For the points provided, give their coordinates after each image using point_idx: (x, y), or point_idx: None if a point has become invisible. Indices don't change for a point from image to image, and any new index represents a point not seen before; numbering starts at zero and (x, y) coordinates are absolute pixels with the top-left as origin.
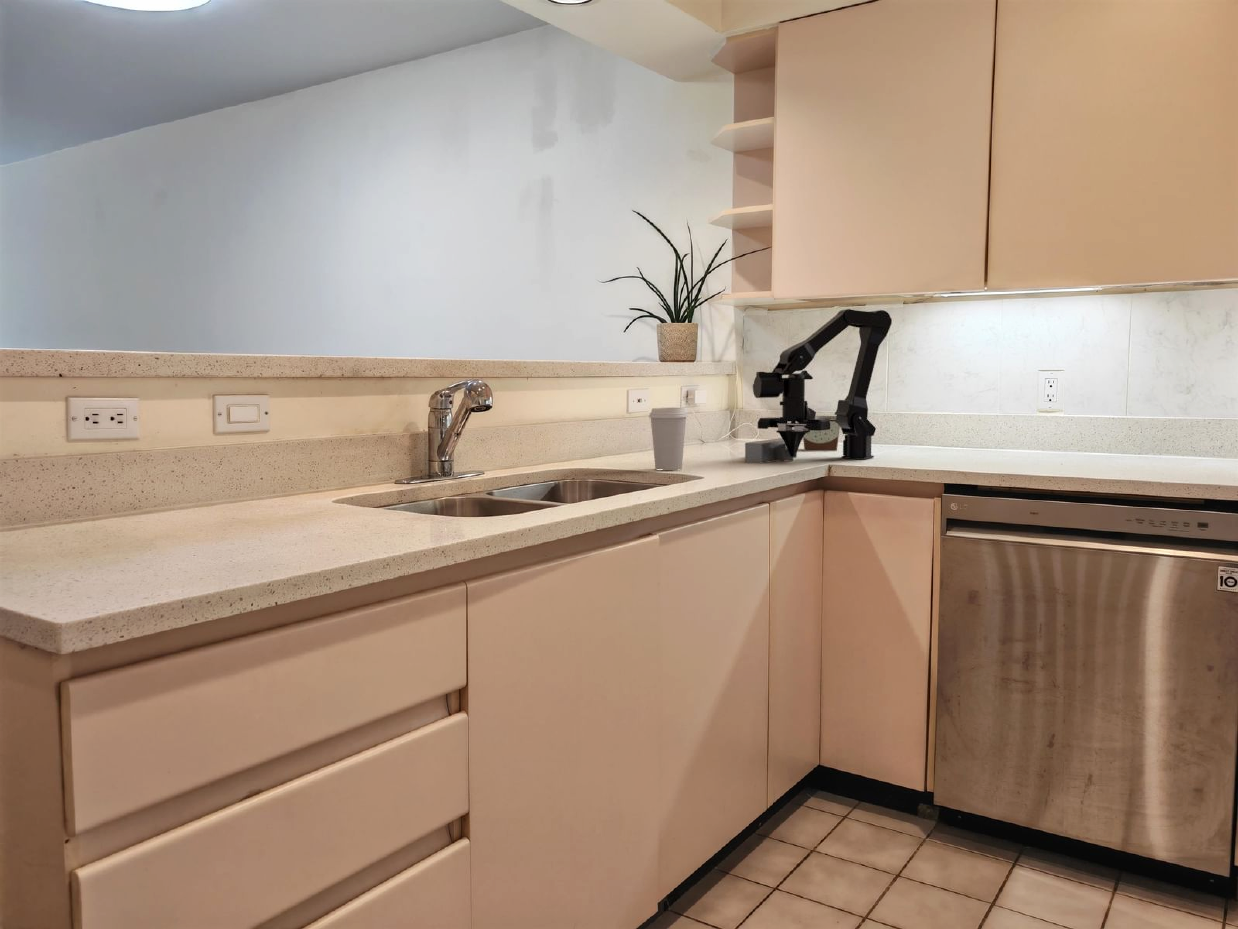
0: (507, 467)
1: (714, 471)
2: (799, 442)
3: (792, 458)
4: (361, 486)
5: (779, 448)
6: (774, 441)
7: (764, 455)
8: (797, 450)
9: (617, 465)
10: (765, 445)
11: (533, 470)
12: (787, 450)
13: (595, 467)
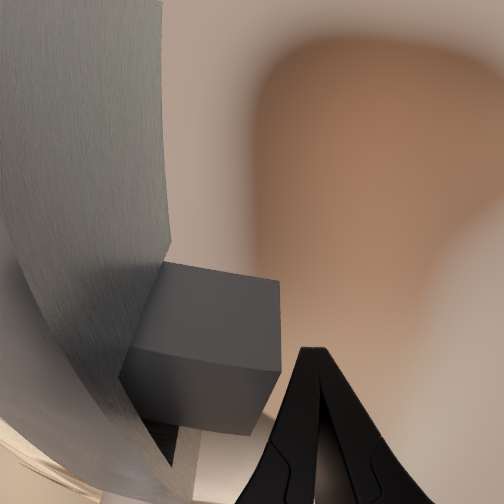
0: (3, 447)
1: (224, 494)
2: (384, 461)
3: (277, 299)
4: (82, 495)
5: (142, 386)
6: (135, 474)
7: (195, 448)
8: (350, 387)
9: (29, 446)
10: (187, 493)
11: (41, 466)
12: (260, 408)
13: (42, 458)
